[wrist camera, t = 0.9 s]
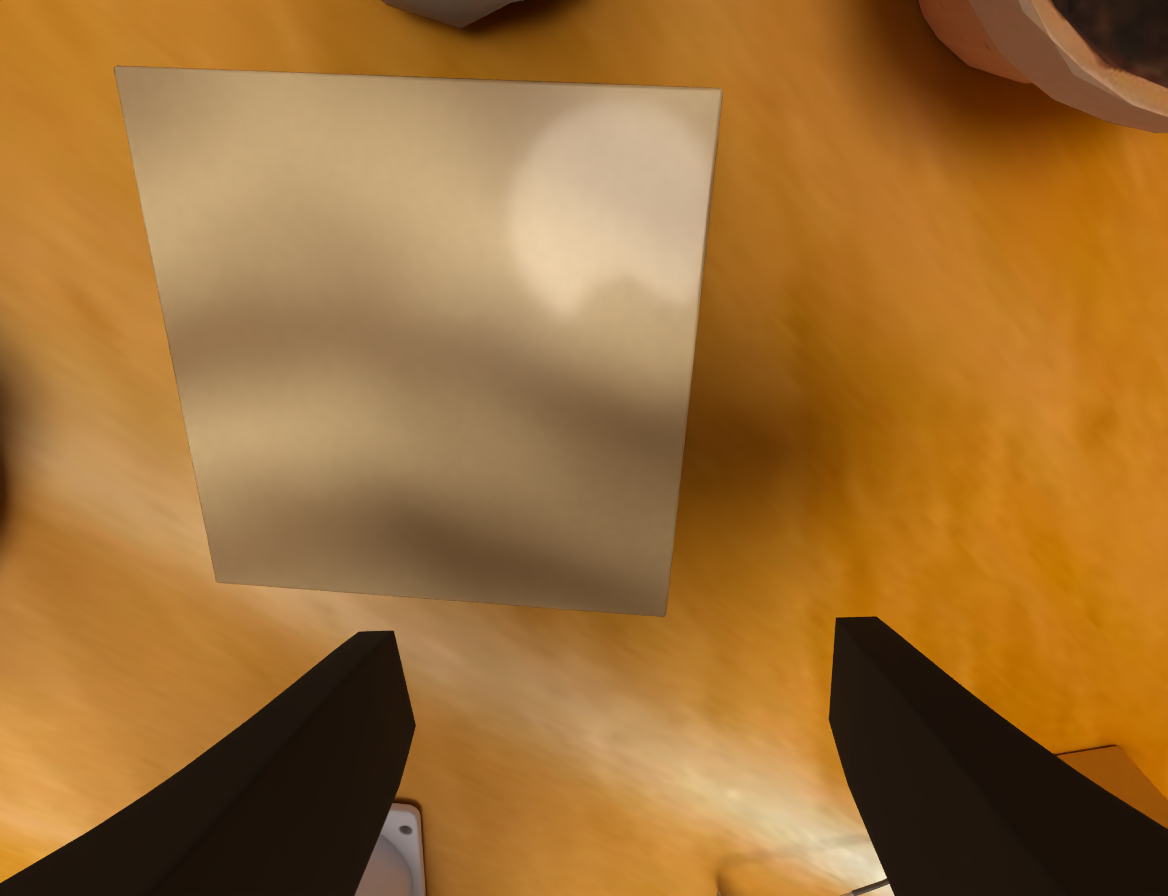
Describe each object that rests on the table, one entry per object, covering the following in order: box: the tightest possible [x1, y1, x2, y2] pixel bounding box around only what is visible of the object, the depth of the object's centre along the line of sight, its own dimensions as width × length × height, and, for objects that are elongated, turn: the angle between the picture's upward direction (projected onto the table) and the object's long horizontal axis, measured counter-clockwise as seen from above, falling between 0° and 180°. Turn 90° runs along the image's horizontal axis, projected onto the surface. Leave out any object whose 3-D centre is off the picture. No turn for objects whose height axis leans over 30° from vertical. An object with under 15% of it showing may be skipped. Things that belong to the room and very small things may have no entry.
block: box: [1056, 746, 1168, 829], centre depth 21 cm, size 4×4×4 cm
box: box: [114, 66, 723, 617], centre depth 16 cm, size 12×12×4 cm
